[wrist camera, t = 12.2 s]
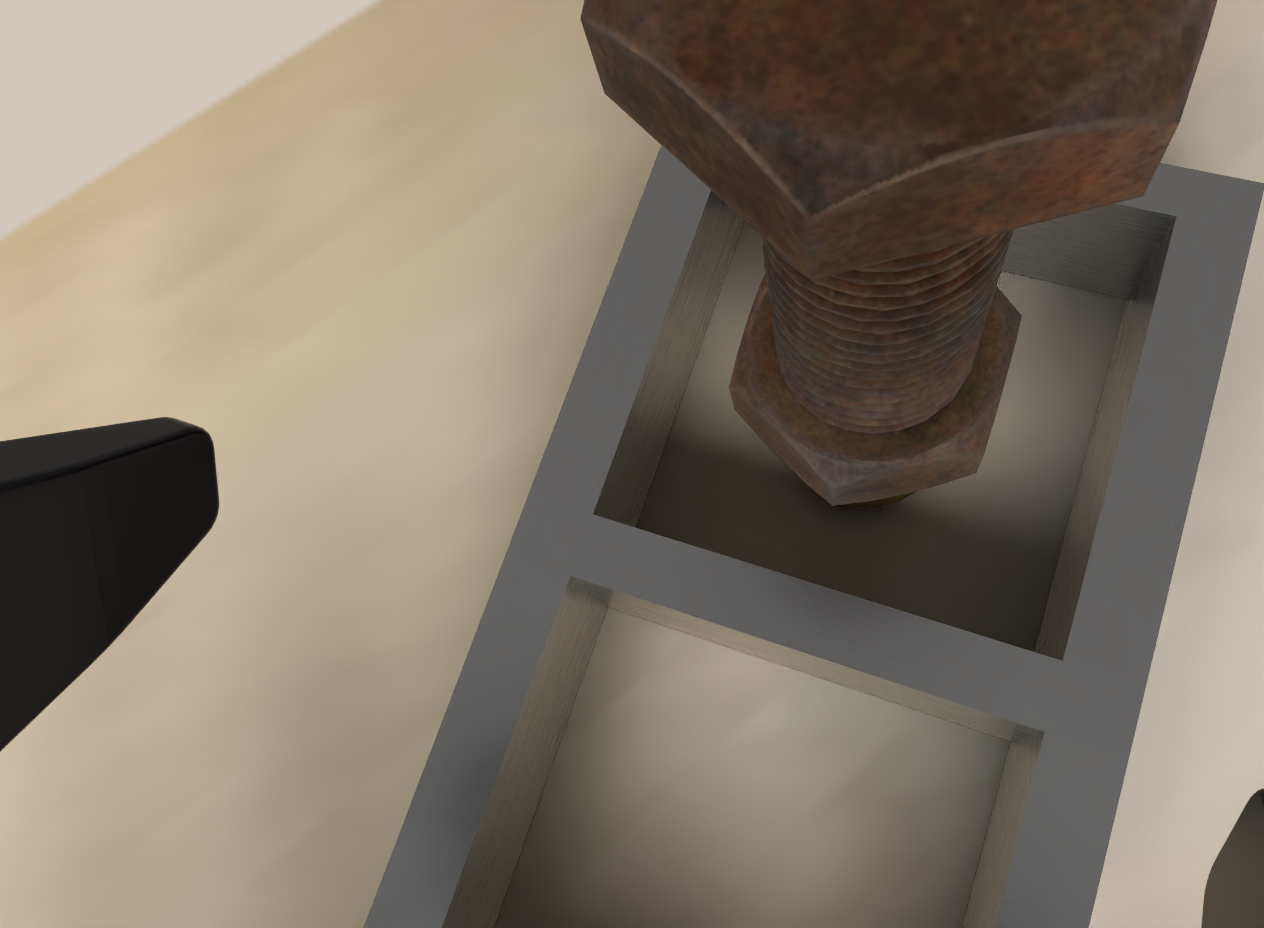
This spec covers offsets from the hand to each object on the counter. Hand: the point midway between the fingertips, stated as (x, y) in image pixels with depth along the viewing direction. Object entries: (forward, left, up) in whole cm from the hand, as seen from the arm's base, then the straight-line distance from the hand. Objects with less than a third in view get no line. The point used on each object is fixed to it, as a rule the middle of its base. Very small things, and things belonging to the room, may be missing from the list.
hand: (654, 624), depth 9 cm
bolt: (+6, 0, -14) cm, 15 cm away
